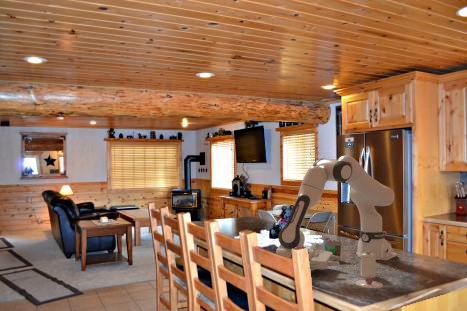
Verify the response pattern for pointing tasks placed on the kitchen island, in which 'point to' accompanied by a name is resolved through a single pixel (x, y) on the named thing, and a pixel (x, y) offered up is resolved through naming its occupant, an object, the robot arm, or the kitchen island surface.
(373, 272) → the lidded octagonal canister
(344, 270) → the kitchen island surface
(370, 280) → the ball
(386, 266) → the kitchen island surface
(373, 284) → the saucer
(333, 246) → the food container
